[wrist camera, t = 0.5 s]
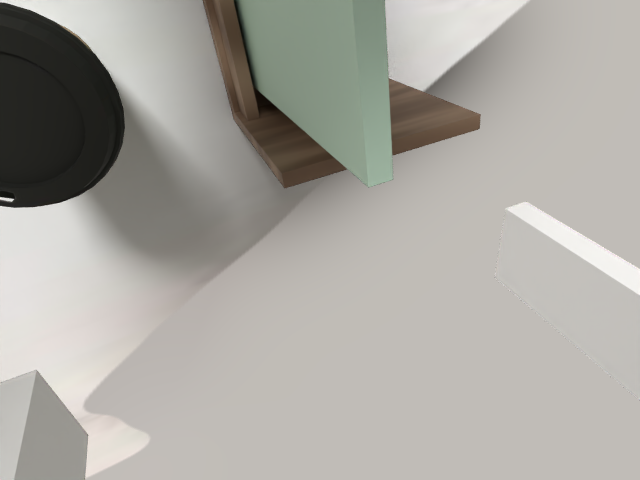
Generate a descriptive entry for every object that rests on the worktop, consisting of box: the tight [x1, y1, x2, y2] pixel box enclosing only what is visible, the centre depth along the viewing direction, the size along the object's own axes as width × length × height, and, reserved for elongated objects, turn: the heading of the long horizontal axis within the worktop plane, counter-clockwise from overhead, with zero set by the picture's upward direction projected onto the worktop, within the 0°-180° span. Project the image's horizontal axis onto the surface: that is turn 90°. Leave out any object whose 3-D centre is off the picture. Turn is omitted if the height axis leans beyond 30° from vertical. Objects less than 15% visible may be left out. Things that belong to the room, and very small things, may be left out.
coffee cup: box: [0, 3, 125, 208], centre depth 26 cm, size 10×10×15 cm
